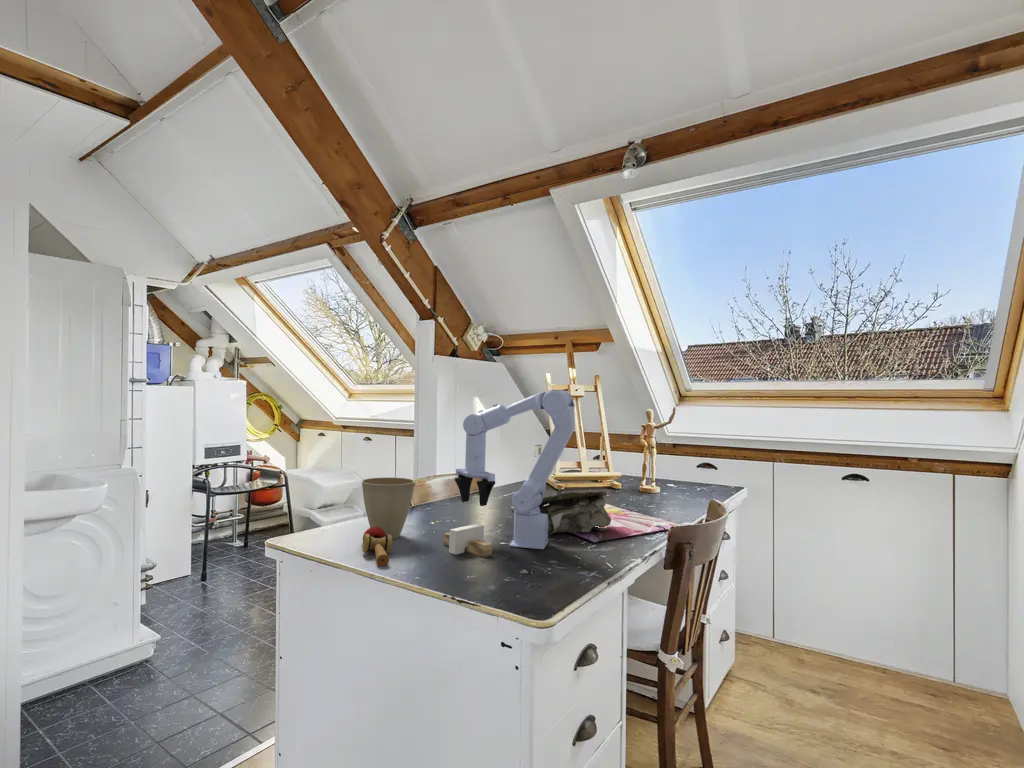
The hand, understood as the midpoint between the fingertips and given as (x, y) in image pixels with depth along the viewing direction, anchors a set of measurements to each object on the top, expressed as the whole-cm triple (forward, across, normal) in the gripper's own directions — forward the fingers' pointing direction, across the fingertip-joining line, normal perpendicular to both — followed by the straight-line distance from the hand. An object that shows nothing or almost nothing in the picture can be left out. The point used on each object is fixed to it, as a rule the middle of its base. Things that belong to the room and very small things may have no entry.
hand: (474, 503), depth 159 cm
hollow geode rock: (+10, +13, +28) cm, 33 cm away
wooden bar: (+10, +8, -9) cm, 16 cm away
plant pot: (+10, -18, -17) cm, 27 cm away
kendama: (+10, -3, -30) cm, 32 cm away
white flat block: (+10, +8, -10) cm, 16 cm away
